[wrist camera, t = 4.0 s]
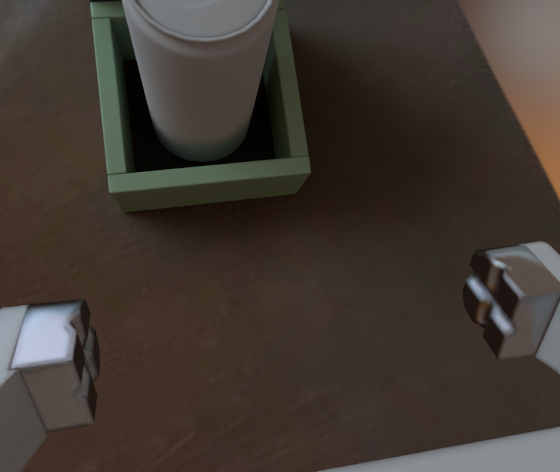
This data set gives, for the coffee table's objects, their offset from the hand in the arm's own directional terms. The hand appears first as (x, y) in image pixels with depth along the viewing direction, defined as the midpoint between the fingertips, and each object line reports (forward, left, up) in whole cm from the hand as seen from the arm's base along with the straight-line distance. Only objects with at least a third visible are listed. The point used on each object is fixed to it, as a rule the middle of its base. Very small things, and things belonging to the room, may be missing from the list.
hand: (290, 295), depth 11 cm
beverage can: (+7, -7, -15) cm, 18 cm away
